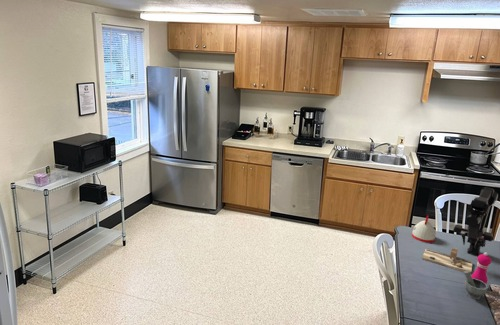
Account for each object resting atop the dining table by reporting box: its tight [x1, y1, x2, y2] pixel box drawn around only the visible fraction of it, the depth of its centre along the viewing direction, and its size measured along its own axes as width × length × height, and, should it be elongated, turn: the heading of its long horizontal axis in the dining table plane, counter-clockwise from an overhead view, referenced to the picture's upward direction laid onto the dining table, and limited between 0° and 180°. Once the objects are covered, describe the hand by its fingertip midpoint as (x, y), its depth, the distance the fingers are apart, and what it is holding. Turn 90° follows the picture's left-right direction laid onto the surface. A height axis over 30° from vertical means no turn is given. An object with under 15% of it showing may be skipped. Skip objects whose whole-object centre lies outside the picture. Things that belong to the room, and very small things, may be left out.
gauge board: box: [421, 247, 473, 275], centre depth 212 cm, size 13×25×2 cm, turn 57°
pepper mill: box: [471, 251, 492, 284], centre depth 187 cm, size 7×7×20 cm
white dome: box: [411, 215, 437, 243], centre depth 238 cm, size 14×14×15 cm
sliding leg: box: [449, 247, 459, 263], centre depth 210 cm, size 11×3×5 cm, turn 147°
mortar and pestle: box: [463, 271, 489, 300], centre depth 181 cm, size 11×9×12 cm
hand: (469, 246), depth 206 cm, fingers open, 5 cm apart
